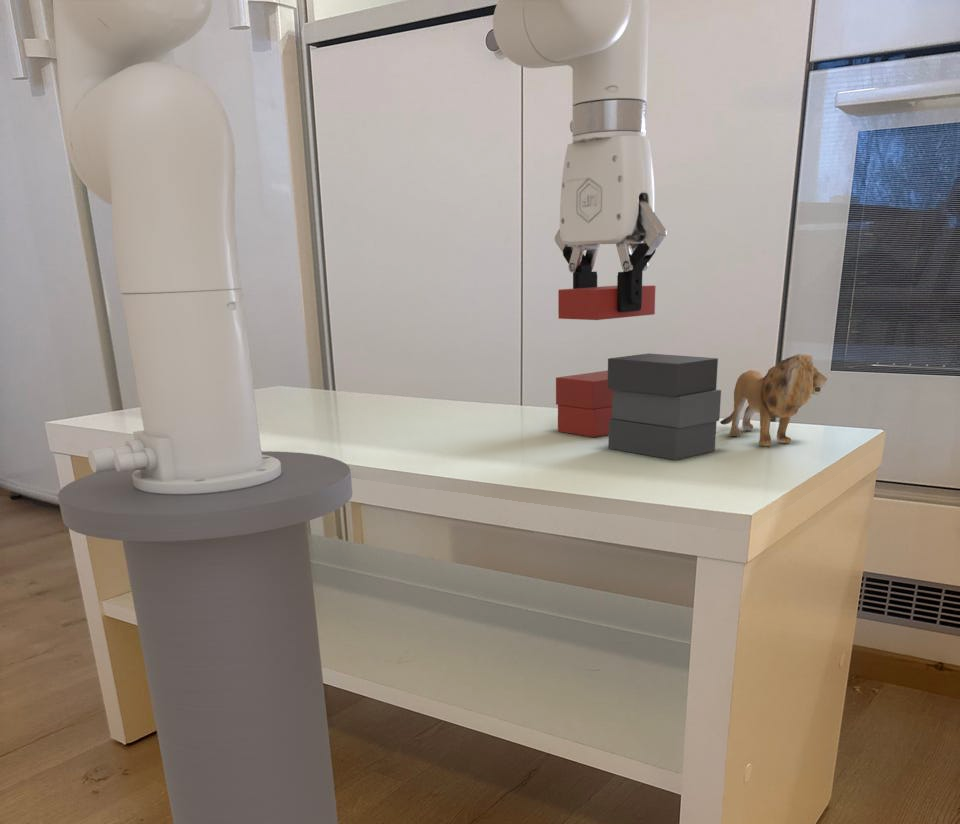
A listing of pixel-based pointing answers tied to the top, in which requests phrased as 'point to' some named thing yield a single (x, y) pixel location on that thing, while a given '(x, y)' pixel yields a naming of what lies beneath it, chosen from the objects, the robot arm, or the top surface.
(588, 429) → the red blocks
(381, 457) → the top surface
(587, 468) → the top surface
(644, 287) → the red rectangular block
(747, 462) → the top surface
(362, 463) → the top surface
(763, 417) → the lion figurine
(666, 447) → the grey blocks
